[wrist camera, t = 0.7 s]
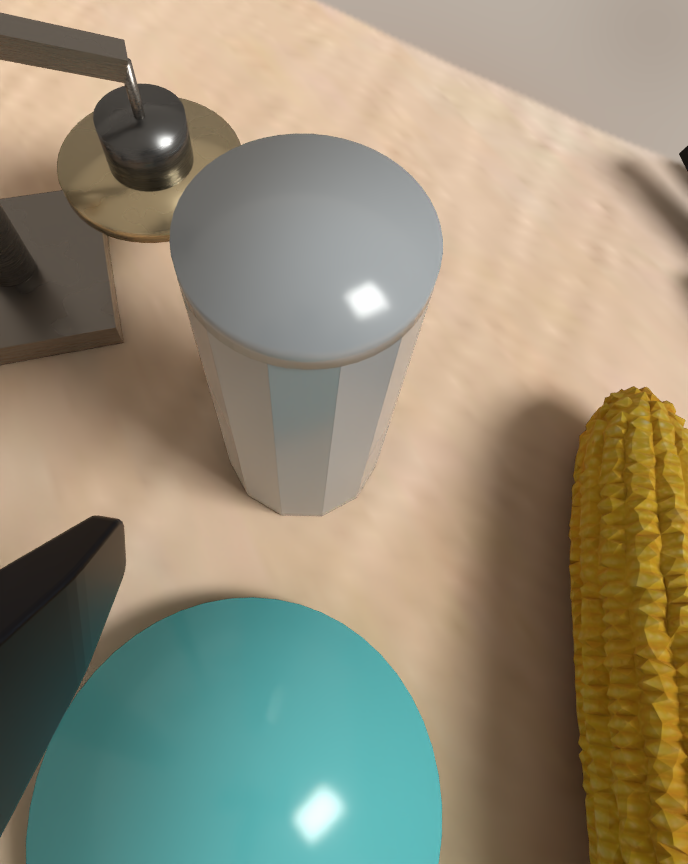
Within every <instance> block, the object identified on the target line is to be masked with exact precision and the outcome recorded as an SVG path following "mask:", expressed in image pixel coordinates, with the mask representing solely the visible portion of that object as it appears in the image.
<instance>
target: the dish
mask: <svg viewBox="0 0 688 864" xmlns="http://www.w3.org/2000/svg"><path fill="white" fill-rule="evenodd" d="M441 838H442V801H441V792H440V783H439V774H438V770H437V765H436V761H435V756H434V752H433V747H432V745H431V742H430V739H429V736H428V733H427V730H426V727H425V724H424V722H423V719H422V717H421V715H420V713H419V711H418V709H417V707H416V705H415V703H414V701H413V699H412V697H411V695H410V693H409V692H408V690H407V689H406V687H405V686H404V684H403V683H402V681H401V679H400V678H399V676H398V675H397V673H396V672H395V671H394V670H393V669H392V667H391V666H390V665H389V664H388V663H387V662H386V660H385V659H384V658H383V657H382V656H381V654H380V653H378V652H377V651H376V650H375V649H374V648H373V647H372V646H371V645H370V644H369V643H368V642H367V641H366V640H364V639H363V638H362V637H361V636H359V635H358V634H357V633H355V632H354V631H352V630H351V629H350V628H348V627H347V626H345V625H344V624H342V623H340V622H339V621H337V620H335V619H333V618H331V617H329V616H327V615H325V614H323V613H322V612H319V611H316V610H313V609H311V608H308V607H305V606H302V605H300V604H295V603H291V602H286V601H282V600H277V599H266V598H254V597H251V598H232V599H224V600H219V601H213V602H208V603H203V604H200V605H197V606H194V607H191V608H188V609H185V610H182V611H179V612H177V613H175V614H173V615H171V616H168V617H166V618H164V619H162V620H160V621H158V622H156V623H154V624H153V625H151V626H150V627H148V628H146V629H145V630H143V631H142V632H140V633H138V634H137V635H135V636H134V637H133V638H131V639H130V640H129V641H128V642H126V643H125V644H124V645H123V646H121V647H120V648H119V649H118V650H116V651H115V652H114V653H113V654H112V655H111V656H110V657H109V658H108V659H107V660H106V661H105V662H104V663H103V664H102V665H101V666H100V667H99V668H98V669H97V670H96V671H95V672H94V673H93V675H92V676H91V677H90V678H89V680H88V681H87V682H86V683H85V685H84V686H83V687H82V688H81V690H80V691H79V692H78V693H77V695H76V696H75V698H74V700H73V701H72V703H71V704H70V706H69V708H68V709H67V711H66V712H65V714H64V716H63V718H62V720H61V722H60V724H59V726H58V728H57V730H56V731H55V733H54V735H53V737H52V739H51V741H50V743H49V745H48V747H47V750H46V753H45V756H44V759H43V761H42V764H41V767H40V770H39V773H38V776H37V779H36V783H35V788H34V792H33V796H32V801H31V805H30V810H29V819H28V828H27V836H26V864H439V855H440V847H441Z"/></svg>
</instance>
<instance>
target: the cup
mask: <svg viewBox="0 0 688 864" xmlns="http://www.w3.org/2000/svg"><path fill="white" fill-rule="evenodd" d="M170 250H171V257H172V260H173V264H174V268H175V271H176V275H177V279H178V282H179V286H180V289H181V293H182V296H183V299H184V303H185V306H186V310H187V313H188V317H189V320H190V324H191V327H192V331H193V334H194V338H195V341H196V345H197V348H198V352H199V355H200V359H201V362H202V365H203V369H204V372H205V376H206V379H207V383H208V386H209V390H210V393H211V397H212V400H213V404H214V407H215V411H216V414H217V418H218V421H219V425H220V428H221V431H222V435H223V438H224V442H225V445H226V449H227V452H228V456H229V459H230V463H231V464H232V466H233V468H234V470H235V472H236V474H237V476H238V478H239V479H240V481H241V483H242V485H243V487H244V489H245V491H246V493H247V495H248V496H250V497H252V498H254V499H255V500H257V501H259V502H260V503H262V504H264V505H265V506H267V507H269V508H270V509H272V510H274V511H275V512H277V513H279V514H280V515H293V516H323V515H325V514H327V513H329V512H331V511H332V510H334V509H336V508H338V507H340V506H342V505H344V504H346V503H347V502H349V501H351V500H353V499H355V498H357V496H358V494H359V493H360V491H361V489H362V488H363V486H364V484H365V483H366V481H367V479H368V478H369V476H370V474H371V473H372V471H373V470H374V468H375V466H376V463H377V460H378V457H379V454H380V451H381V448H382V445H383V442H384V439H385V436H386V433H387V430H388V427H389V424H390V420H391V417H392V414H393V411H394V408H395V405H396V402H397V399H398V396H399V393H400V390H401V387H402V384H403V381H404V378H405V375H406V372H407V369H408V365H409V362H410V359H411V356H412V353H413V350H414V347H415V344H416V341H417V338H418V335H419V332H420V329H421V326H422V323H423V320H424V317H425V314H426V310H427V307H428V304H429V301H430V298H431V295H432V292H433V288H434V285H435V282H436V279H437V276H438V273H439V270H440V266H441V260H442V255H443V238H442V232H441V225H440V222H439V219H438V216H437V213H436V211H435V209H434V207H433V205H432V202H431V200H430V199H429V197H428V196H427V194H426V193H425V191H424V190H423V188H422V187H421V186H420V185H419V184H418V183H417V181H416V180H415V179H414V178H413V177H412V176H411V175H410V174H409V173H408V172H407V171H405V170H404V169H403V168H402V167H401V166H400V165H398V164H397V163H395V162H394V161H392V160H391V159H390V158H388V157H386V156H384V155H383V154H381V153H379V152H377V151H375V150H373V149H371V148H369V147H366V146H364V145H361V144H359V143H356V142H352V141H349V140H346V139H342V138H337V137H332V136H327V135H317V134H286V135H277V136H272V137H266V138H262V139H258V140H255V141H251V142H248V143H245V144H243V145H241V146H238V147H236V148H233V149H231V150H230V151H228V152H226V153H224V154H222V155H221V156H219V157H217V158H216V159H215V160H213V161H212V162H210V163H209V164H208V165H206V166H205V167H204V168H203V169H202V170H201V171H200V172H199V173H198V174H197V175H196V176H195V177H194V178H193V179H192V181H191V182H190V183H189V184H188V186H187V187H186V188H185V190H184V192H183V193H182V195H181V197H180V198H179V200H178V203H177V205H176V208H175V210H174V213H173V217H172V222H171V226H170Z"/></svg>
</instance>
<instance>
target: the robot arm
mask: <svg viewBox="0 0 688 864" xmlns="http://www.w3.org/2000/svg"><path fill="white" fill-rule="evenodd" d="M125 566H126V553H125V535H124V525H123V523H122V521H121V520H119V519H116V518H110V517H104V516H92V517H90V518H88V519H86V520H84V521H82V522H81V523H79V524H77V525H76V526H74V527H72V528H70V529H69V530H67V531H65V532H64V533H62V534H60V535H58V536H57V537H55V538H53V539H51V540H50V541H48V542H46V543H45V544H43V545H41V546H39V547H38V548H36V549H34V550H33V551H31V552H29V553H27V554H26V555H24V556H22V557H21V558H19V559H17V560H15V561H14V562H12V563H10V564H8V565H7V566H5V567H3V568H2V569H0V837H1V835H2V833H3V831H4V829H5V827H6V825H7V823H8V822H9V820H10V818H11V816H12V814H13V812H14V810H15V808H16V806H17V804H18V802H19V800H20V799H21V797H22V795H23V793H24V791H25V789H26V787H27V785H28V783H29V781H30V779H31V777H32V776H33V774H34V772H35V770H36V768H37V766H38V764H39V762H40V760H41V758H42V756H43V754H44V753H45V751H46V749H47V747H48V745H49V743H50V741H51V739H52V737H53V735H54V733H55V731H56V730H57V728H58V726H59V724H60V722H61V720H62V718H63V716H64V714H65V712H66V710H67V708H68V707H69V705H70V703H71V701H72V699H73V697H74V695H75V693H76V691H77V689H78V687H79V685H80V683H81V681H82V679H83V677H84V675H85V673H86V671H87V668H88V666H89V664H90V661H91V659H92V656H93V654H94V651H95V648H96V646H97V643H98V641H99V638H100V636H101V633H102V630H103V628H104V625H105V623H106V620H107V617H108V615H109V612H110V610H111V607H112V604H113V602H114V599H115V597H116V594H117V592H118V589H119V586H120V584H121V581H122V578H123V575H124V572H125Z"/></svg>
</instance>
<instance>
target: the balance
mask: <svg viewBox="0 0 688 864" xmlns="http://www.w3.org/2000/svg"><path fill="white" fill-rule="evenodd" d="M0 60H5V61H10V62H16V63H21V64H26V65H31V66H37V67H42V68H47V69H53V70H58V71H63V72H69V73H74V74H79V75H85V76H90V77H95V78H100V79H106V80H111V81H116V82H122V83H124V84H125V86H122V87H120V88H117V89H115V90H113V91H111V92H109V93H108V94H106V95H105V96H104V97H103V98H102V99H101V100H100V101H99V102H98V104H97V105H96V107H95V109H94V112H92V113H91V114H89V115H88V116H86V117H85V118H84V119H82V120H81V121H80V122H79V123H78V124H77V125H76V126H75V127H74V128H73V129H72V130H71V131H70V133H69V134H68V135H67V137H66V138H65V140H64V142H63V144H62V146H61V149H60V152H59V155H58V161H57V174H58V179H59V183H60V185H61V188H62V190H61V191H54V192H47V193H40V194H33V195H26V196H19V197H12V198H5V199H0V365H3V364H8V363H14V362H19V361H25V360H30V359H35V358H41V357H46V356H52V355H57V354H63V353H68V352H74V351H79V350H85V349H90V348H96V347H101V346H107V345H112V344H118V343H123V338H122V331H121V324H120V318H119V311H118V304H117V297H116V291H115V284H114V277H113V271H112V264H111V257H110V250H109V244H108V237H107V235H108V236H111V237H114V238H117V239H120V240H125V241H130V242H139V243H159V242H168V241H170V226H171V222H172V217H173V213H174V210H175V208H176V205H177V203H178V200H179V198H180V197H181V195H182V193H183V192H184V190H185V188H186V187H187V186H188V184H189V183H190V182H191V181H192V179H193V178H194V177H195V176H196V175H197V174H198V173H199V172H200V171H201V170H202V169H203V168H204V167H205V166H206V165H208V164H209V163H210V162H212V161H213V160H215V159H216V158H217V157H219V156H221V155H222V154H224V153H226V152H228V151H230V150H231V149H233V148H236V147H238V146H241V144H240V142H239V139H238V137H237V135H236V134H235V132H234V130H233V129H232V128H231V127H230V125H229V124H228V123H227V122H226V121H225V120H224V119H223V118H222V117H220V116H219V115H218V114H216V113H215V112H214V111H212V110H210V109H208V108H206V107H205V106H202V105H200V104H198V103H195V102H192V101H189V100H186V99H181V98H178V97H177V96H176V95H175V94H173V93H172V92H171V91H169V90H167V89H165V88H162V87H159V86H156V85H151V84H137V82H136V78H135V74H134V70H133V66H132V63H131V60H130V59H129V58H127V52H126V47H125V42H124V40H123V39H118V38H114V37H109V36H104V35H100V34H95V33H91V32H86V31H82V30H77V29H72V28H68V27H63V26H59V25H54V24H50V23H45V22H41V21H36V20H31V19H27V18H22V17H18V16H13V15H9V14H4V13H0Z"/></svg>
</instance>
